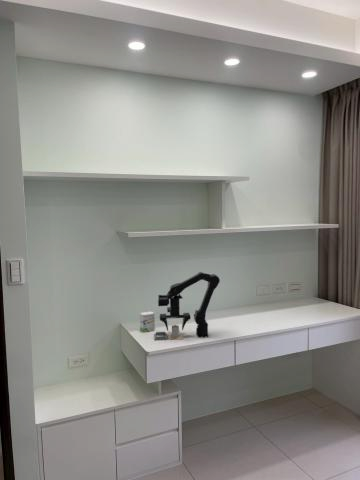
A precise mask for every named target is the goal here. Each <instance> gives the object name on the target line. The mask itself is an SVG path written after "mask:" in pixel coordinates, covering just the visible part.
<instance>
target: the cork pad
mask: <svg viewBox="0 0 360 480" xmlns="http://www.w3.org/2000/svg"><path fill="white" fill-rule="evenodd" d="M167 337H168V341H169V340H184V336H183V333H179V338H172V333H167Z"/></svg>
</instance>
